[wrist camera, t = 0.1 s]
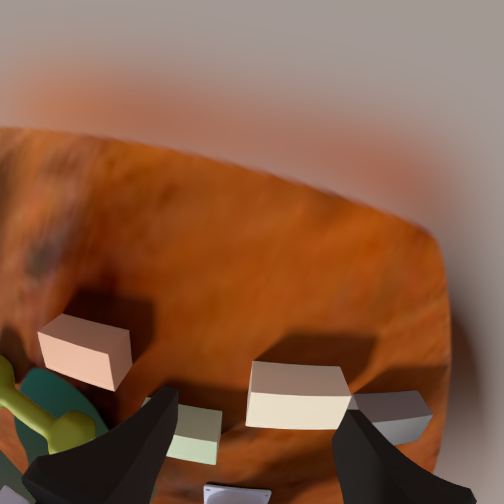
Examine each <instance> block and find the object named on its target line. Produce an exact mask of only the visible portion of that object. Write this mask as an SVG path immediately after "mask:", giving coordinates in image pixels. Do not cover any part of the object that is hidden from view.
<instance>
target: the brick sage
mask: <svg viewBox="0 0 504 504" xmlns="http://www.w3.org/2000/svg"><path fill="white" fill-rule="evenodd" d="M150 399H151V398H148V397H146V399H145V401H144V403H143V405H145V404H146V403H147V402H148V401H149V400H150ZM143 405H142V406H143ZM221 423H222V411H217V410H210V409H204V408H197V407H192V406H186V405H181V404H178V422H177V426H176V430H175V433H174V437H173V440H172V443H171V445H170V447H169V450H168V452H167V455H166V456H169V457H174V458H179V459H184V460H189V461H194V462H200V463H206V464H213V465H216V460H217V454H218V448H219V442H220V436H221Z"/></svg>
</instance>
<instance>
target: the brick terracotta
mask: <svg viewBox="0 0 504 504" xmlns="http://www.w3.org/2000/svg"><path fill="white" fill-rule="evenodd" d="M38 336H39V341H40V345H41V349H42V353H43V357H44V360H45V364H46V367H47V368H50V369H52V370H55V371H57V372H60V373H62V374H65V375H67V376H70V377H73V378H75V379H78V380H81V381H84V382H87V383H90V384H93V385H96V386H99V387H102V388H105V389H108V390H111V391H115V390H116V389H117V387H118V386H119V384H120V383H121V381H122V380H123V378H124V377H125V375H126V374H127V372H128V371H129V370H130V368H131V367H132V356H131V346H130V335H129V330H126V329H121V328H117V327H113V326H108V325H104V324H100V323H96V322H92V321H88V320H84V319H81V318H77V317H73V316H70V315H66V314H63V313H62V314H61V315H60V316H58V317H57V318H55V319H54V320H53V321H51V322H50V323H48V324H47V325H46V326H44V327H43V328H42V329H40V330H39V331H38Z"/></svg>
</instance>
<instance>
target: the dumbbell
mask: <svg viewBox="0 0 504 504" xmlns="http://www.w3.org/2000/svg"><path fill="white" fill-rule="evenodd" d="M3 407H6V408H8V409H9V410H10V411H11V412H12V413H13V414H14V415H15V416H16V417H17V418H19V419H20V420H21V421H22V422H24V423H25V424H26V425H28V426H29V427H30V428H32V429H33V430H35V431H36V432H38V433H40V434H41V435H43V436H44V437H45V438H46V439H47V441H48V449H49V454H54V453H58V452H62V451H65V450H68V449H71V448H74V447H77V446H80V445H82V444H85V443H87V442H89V441H91V440H93V439H95V434H96V426H95V422H94V420H93V419H92V418H91V417H89V416H88V415H86V414H84V413H82V412H80V411H76V410H75V411H71V412H69V413H67V414H65V415H64V416H62V417H60V419H57V418H55V417H53V416H52V415H51V414H49V413H48V412H47V411H46V410H44V409H43V408H42V407H40V406H39V405H37V404H36V403H35V402H33V401H32V400H31V399H29V398H28V397H27V396H25V395H24V394H22V393H21V392H19V391H18V390H16V389H15V375H14V370H13V366H12V365H11V363H10V362H9V361H8V360H7V359H6V358H5V357H4V356H2V355H0V409H1V408H3Z"/></svg>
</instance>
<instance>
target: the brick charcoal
mask: <svg viewBox="0 0 504 504" xmlns="http://www.w3.org/2000/svg"><path fill="white" fill-rule="evenodd" d="M347 409H355V410H360V411H361V412H362V413H363V414H364V415H365V416H366V417H367V418H368V419H369V420H370V421H371V423H372V424H373V425H374V426H375V427H376V428H377V429H378V430H379V431H380V432H381V433H382V434H383V436H384V437H385V438H386V439H387V440H388V441H389V442H390V443H391V444H393V445H399V444H405V443H410V442H416V441H418V439H419V438H420V436H421V435H422V433H423V431H424V430H425V428H426V427H427V425H428V423H429V422H430V420H431V418H432V417H433V413H432V412H431V410H430V409H429V407H428V406H427V404H426V402H425V401H424V399H423V398H422V396H421V395H420V393H419V392H418V391H417V390H414V391H402V392H388V393H368V394H352V397H351V399H350V402H349V404H348V407H347ZM347 409H346V410H347ZM344 415H345V414H344ZM343 417H344V416H343Z"/></svg>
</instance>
